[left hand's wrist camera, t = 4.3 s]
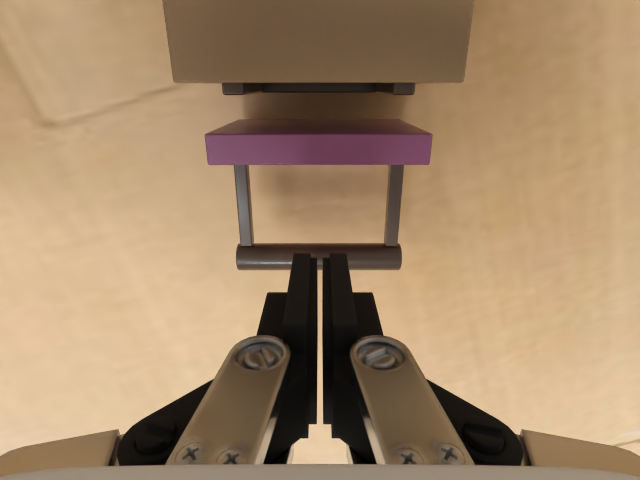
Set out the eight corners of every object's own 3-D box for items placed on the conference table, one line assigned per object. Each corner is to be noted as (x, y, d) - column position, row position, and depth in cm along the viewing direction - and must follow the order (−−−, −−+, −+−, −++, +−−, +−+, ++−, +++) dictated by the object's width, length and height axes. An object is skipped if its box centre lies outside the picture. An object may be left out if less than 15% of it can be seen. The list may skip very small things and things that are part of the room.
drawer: (390, 242, 23) (415, 297, 17) (247, 242, 23) (222, 297, 17) (434, -342, 14) (517, -653, 8) (202, -343, 14) (116, -654, 8)
